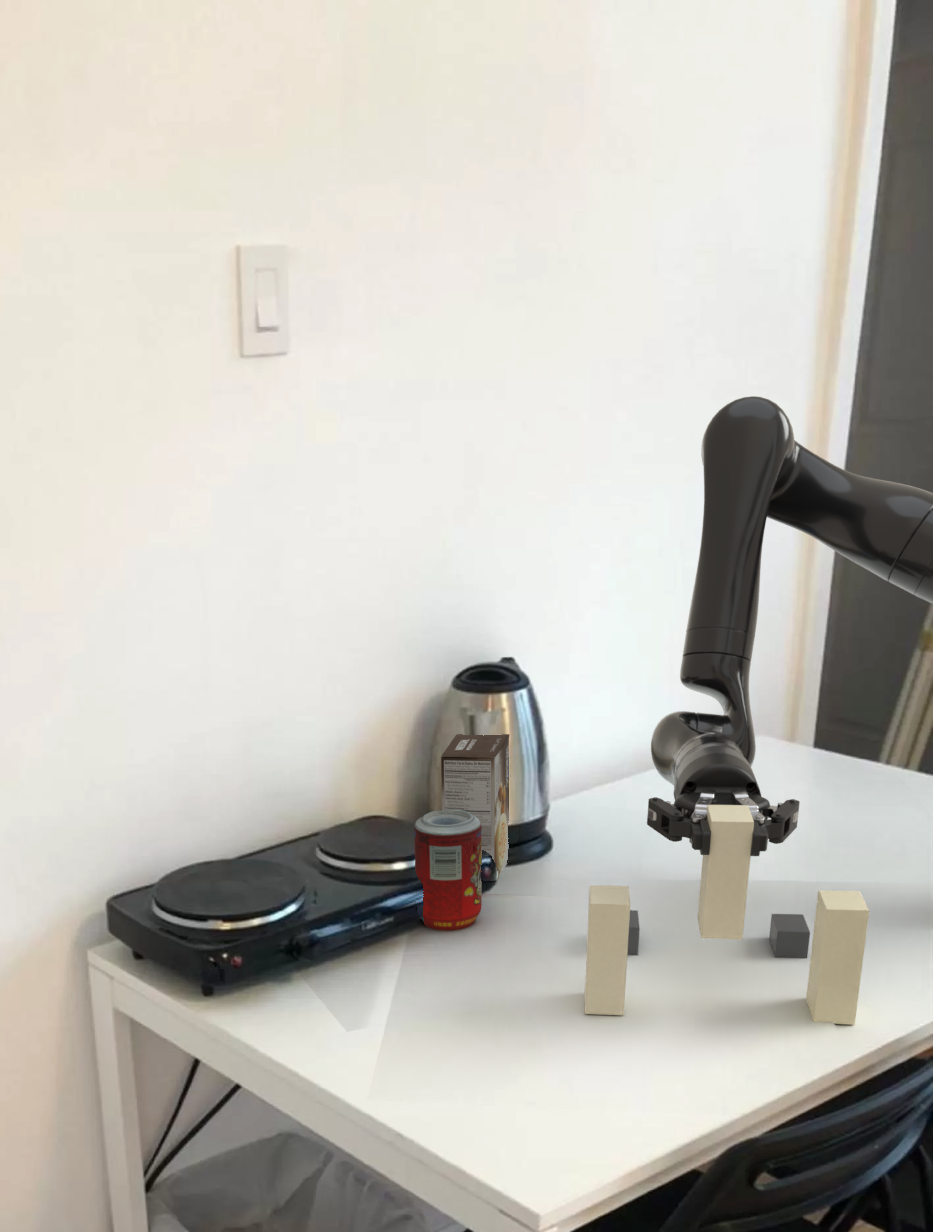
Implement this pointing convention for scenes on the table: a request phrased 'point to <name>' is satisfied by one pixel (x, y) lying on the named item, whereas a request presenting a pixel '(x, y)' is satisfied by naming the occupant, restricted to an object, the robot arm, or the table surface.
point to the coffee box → (480, 787)
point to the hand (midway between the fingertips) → (731, 844)
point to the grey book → (633, 933)
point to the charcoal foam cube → (789, 936)
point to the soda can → (449, 868)
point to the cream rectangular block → (607, 949)
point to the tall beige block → (725, 872)
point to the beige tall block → (837, 956)
